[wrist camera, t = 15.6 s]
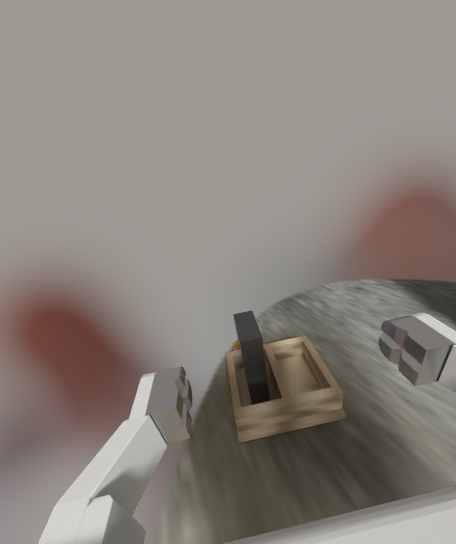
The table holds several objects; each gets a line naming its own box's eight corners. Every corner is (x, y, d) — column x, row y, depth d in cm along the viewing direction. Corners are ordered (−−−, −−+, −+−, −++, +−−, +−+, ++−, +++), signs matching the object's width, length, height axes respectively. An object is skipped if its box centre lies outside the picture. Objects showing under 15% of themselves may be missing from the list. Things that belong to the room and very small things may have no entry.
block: (260, 372, 33) (252, 310, 28) (270, 403, 28) (262, 337, 23) (245, 375, 33) (233, 314, 28) (252, 407, 28) (239, 341, 23)
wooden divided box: (304, 348, 36) (304, 326, 34) (346, 418, 26) (349, 392, 24) (228, 365, 36) (223, 343, 34) (239, 443, 26) (232, 419, 23)
